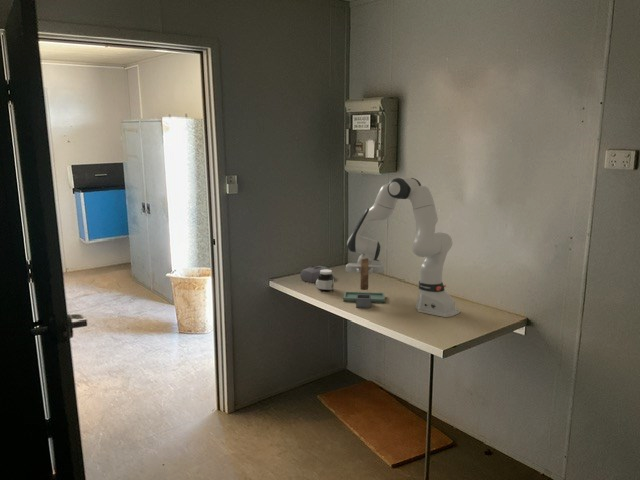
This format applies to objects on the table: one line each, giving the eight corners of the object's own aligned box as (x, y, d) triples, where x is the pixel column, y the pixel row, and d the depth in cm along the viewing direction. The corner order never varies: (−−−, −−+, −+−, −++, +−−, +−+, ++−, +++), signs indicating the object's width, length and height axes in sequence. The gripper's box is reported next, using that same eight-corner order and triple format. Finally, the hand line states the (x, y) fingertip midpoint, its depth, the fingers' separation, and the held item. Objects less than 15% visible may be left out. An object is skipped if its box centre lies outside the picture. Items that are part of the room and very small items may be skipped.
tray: (384, 296, 283) (384, 292, 283) (384, 302, 272) (384, 299, 271) (344, 294, 286) (344, 291, 285) (343, 301, 274) (343, 297, 274)
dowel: (369, 288, 265) (370, 258, 262) (364, 290, 262) (365, 260, 259) (364, 287, 268) (364, 257, 265) (358, 288, 265) (359, 258, 262)
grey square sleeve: (370, 303, 270) (371, 294, 269) (370, 308, 263) (370, 299, 262) (356, 303, 271) (356, 294, 270) (356, 307, 264) (356, 298, 263)
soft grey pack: (313, 284, 308) (336, 278, 321) (313, 271, 306) (337, 265, 320) (297, 279, 318) (320, 274, 332) (297, 266, 317) (320, 261, 330)
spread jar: (327, 293, 289) (327, 273, 287) (310, 290, 294) (310, 271, 292) (337, 288, 299) (337, 269, 297) (320, 285, 304) (320, 266, 302)
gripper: (345, 259, 277) (344, 265, 263) (383, 260, 274) (384, 266, 261) (345, 270, 278) (344, 277, 264) (383, 271, 276) (384, 278, 262)
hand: (364, 271), depth 263 cm, fingers closed on dowel, 4 cm apart
